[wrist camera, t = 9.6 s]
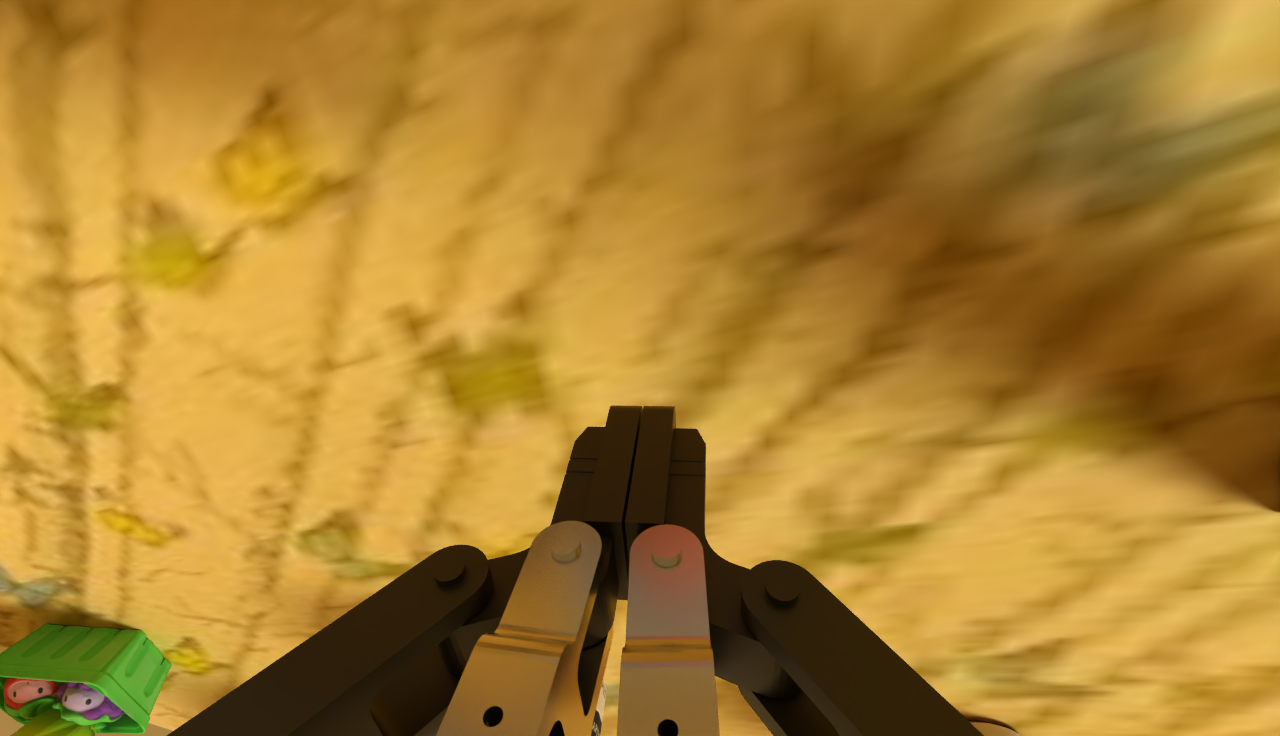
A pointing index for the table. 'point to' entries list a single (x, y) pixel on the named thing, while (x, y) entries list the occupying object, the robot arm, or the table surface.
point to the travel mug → (993, 729)
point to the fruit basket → (81, 681)
